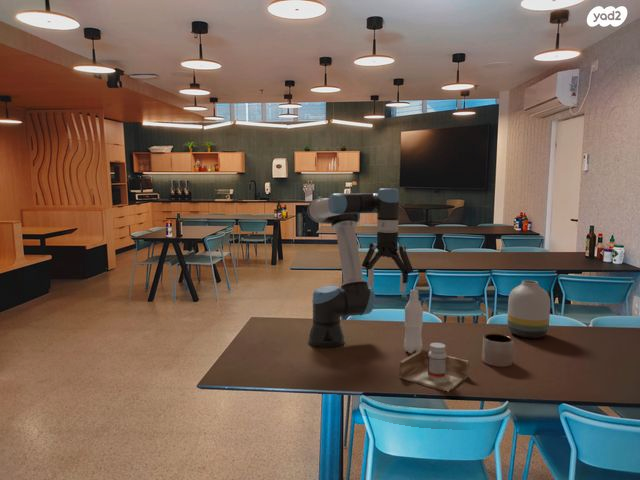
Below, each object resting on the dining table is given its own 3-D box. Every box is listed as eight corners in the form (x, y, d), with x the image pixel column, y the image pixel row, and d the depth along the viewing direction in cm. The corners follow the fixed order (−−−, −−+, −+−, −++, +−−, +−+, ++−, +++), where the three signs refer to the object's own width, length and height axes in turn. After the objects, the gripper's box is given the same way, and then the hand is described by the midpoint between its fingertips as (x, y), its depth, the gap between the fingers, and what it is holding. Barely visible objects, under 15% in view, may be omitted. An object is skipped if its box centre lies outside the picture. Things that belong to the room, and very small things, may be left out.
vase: (550, 332, 213) (553, 280, 210) (545, 343, 198) (548, 287, 195) (510, 326, 222) (513, 276, 219) (503, 336, 207) (505, 282, 204)
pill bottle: (432, 371, 167) (433, 340, 165) (449, 376, 163) (450, 344, 161) (424, 377, 162) (425, 345, 161) (441, 382, 158) (442, 349, 157)
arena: (399, 377, 164) (399, 361, 163) (421, 364, 176) (421, 349, 175) (448, 392, 152) (448, 375, 152) (468, 376, 165) (468, 360, 164)
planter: (498, 370, 171) (499, 344, 170) (475, 360, 180) (476, 335, 179) (519, 364, 176) (520, 339, 175) (496, 355, 185) (497, 331, 184)
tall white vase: (422, 355, 185) (423, 292, 182) (403, 353, 187) (404, 292, 184) (421, 348, 192) (423, 288, 189) (404, 347, 194) (405, 287, 191)
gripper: (353, 229, 176) (352, 285, 178) (413, 234, 160) (411, 296, 163) (364, 228, 181) (363, 282, 184) (423, 232, 166) (422, 292, 168)
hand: (386, 288), depth 173 cm, fingers open, 13 cm apart
